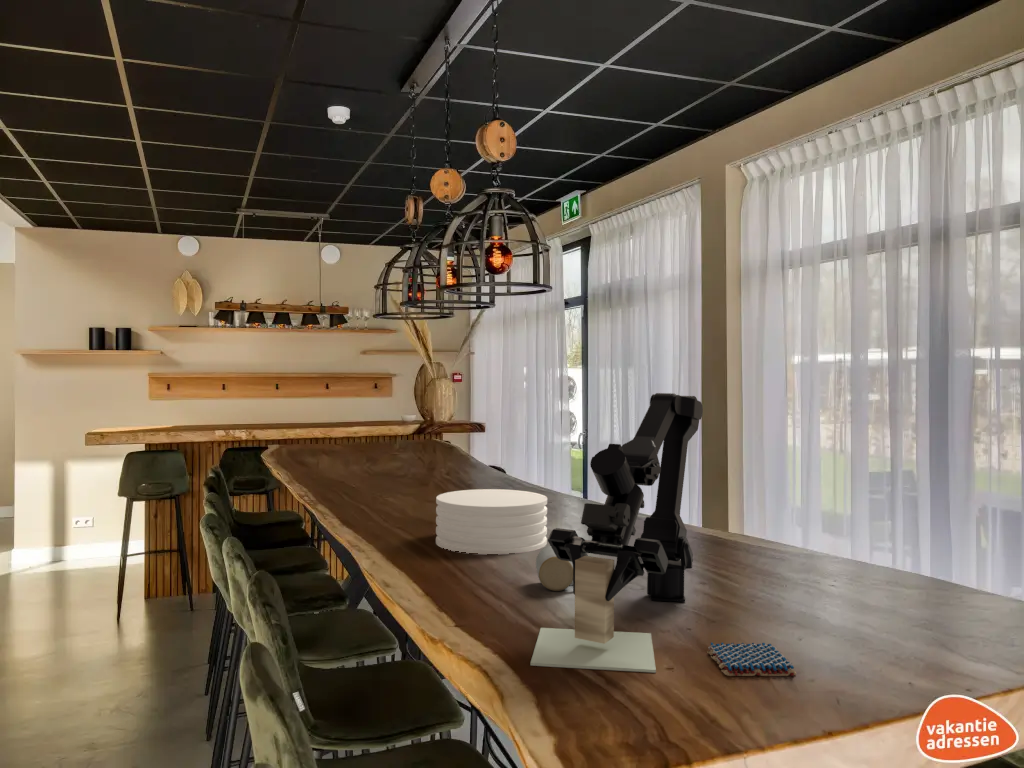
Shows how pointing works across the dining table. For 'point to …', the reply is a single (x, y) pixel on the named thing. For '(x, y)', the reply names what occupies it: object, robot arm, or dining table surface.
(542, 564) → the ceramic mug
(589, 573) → the beige rectangular block
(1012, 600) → the dining table surface
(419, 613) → the dining table surface
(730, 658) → the woven mat
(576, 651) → the sage placemat
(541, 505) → the plate stack
